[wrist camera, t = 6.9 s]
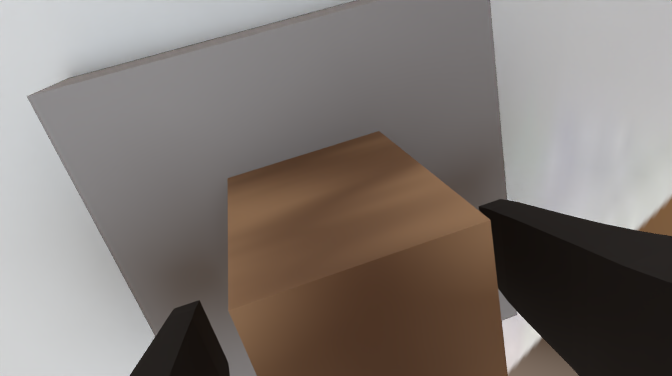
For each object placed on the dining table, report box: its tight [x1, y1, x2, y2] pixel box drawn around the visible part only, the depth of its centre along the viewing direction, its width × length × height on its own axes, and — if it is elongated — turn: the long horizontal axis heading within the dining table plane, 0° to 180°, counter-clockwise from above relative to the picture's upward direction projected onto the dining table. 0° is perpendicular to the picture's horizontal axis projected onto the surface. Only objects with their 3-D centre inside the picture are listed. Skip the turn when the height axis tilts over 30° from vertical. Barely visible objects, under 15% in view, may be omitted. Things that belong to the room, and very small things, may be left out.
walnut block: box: [228, 131, 508, 376], centre depth 11 cm, size 4×4×6 cm
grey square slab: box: [27, 0, 517, 376], centre depth 15 cm, size 12×12×3 cm
